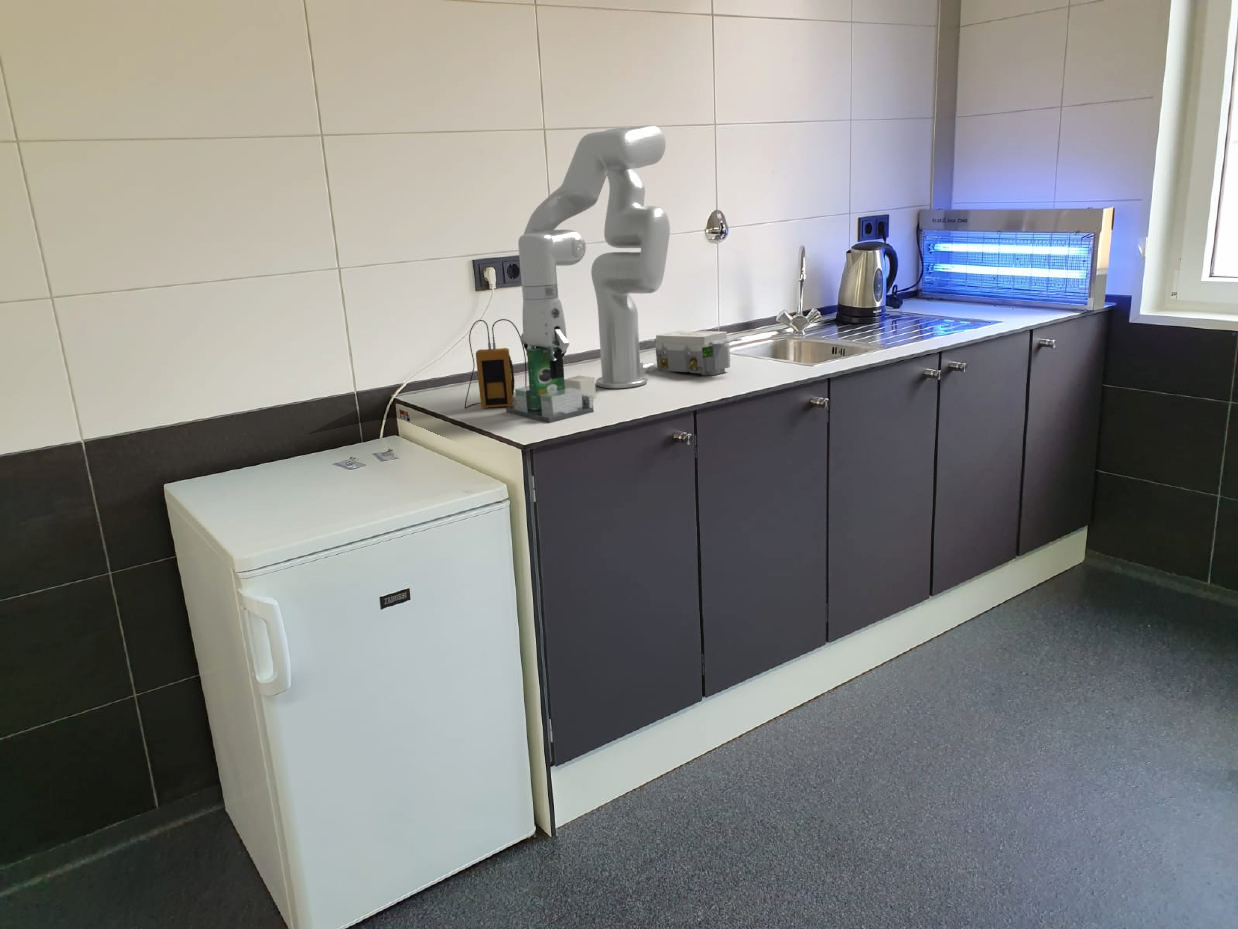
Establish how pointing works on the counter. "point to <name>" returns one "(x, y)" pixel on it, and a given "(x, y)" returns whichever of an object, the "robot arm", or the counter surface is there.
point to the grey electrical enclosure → (693, 352)
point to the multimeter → (494, 374)
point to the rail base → (545, 416)
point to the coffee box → (541, 376)
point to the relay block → (582, 384)
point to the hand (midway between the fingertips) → (546, 375)
